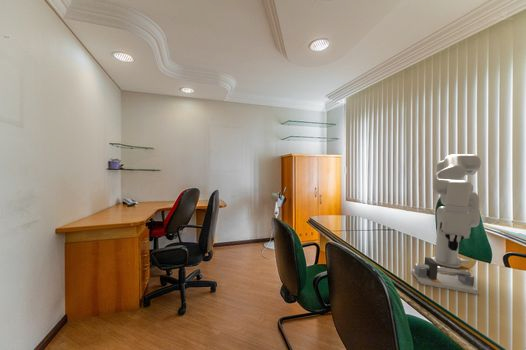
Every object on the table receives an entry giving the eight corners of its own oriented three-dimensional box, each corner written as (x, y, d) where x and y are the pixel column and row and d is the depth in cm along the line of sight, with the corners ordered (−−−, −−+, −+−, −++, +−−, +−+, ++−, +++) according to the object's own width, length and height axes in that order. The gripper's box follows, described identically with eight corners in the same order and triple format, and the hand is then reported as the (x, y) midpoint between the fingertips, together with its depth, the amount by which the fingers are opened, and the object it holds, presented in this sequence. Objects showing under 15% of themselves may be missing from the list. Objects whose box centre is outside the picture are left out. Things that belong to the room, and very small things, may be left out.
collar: (429, 272, 102) (430, 258, 102) (436, 279, 95) (437, 264, 95) (423, 271, 103) (424, 257, 103) (430, 278, 96) (431, 263, 96)
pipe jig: (461, 280, 101) (462, 265, 100) (478, 294, 89) (479, 277, 89) (411, 271, 106) (412, 258, 106) (421, 283, 95) (422, 268, 95)
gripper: (471, 209, 97) (468, 249, 98) (432, 205, 102) (429, 244, 103) (483, 212, 90) (478, 255, 91) (439, 209, 95) (436, 250, 96)
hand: (452, 249), depth 97 cm, fingers closed
